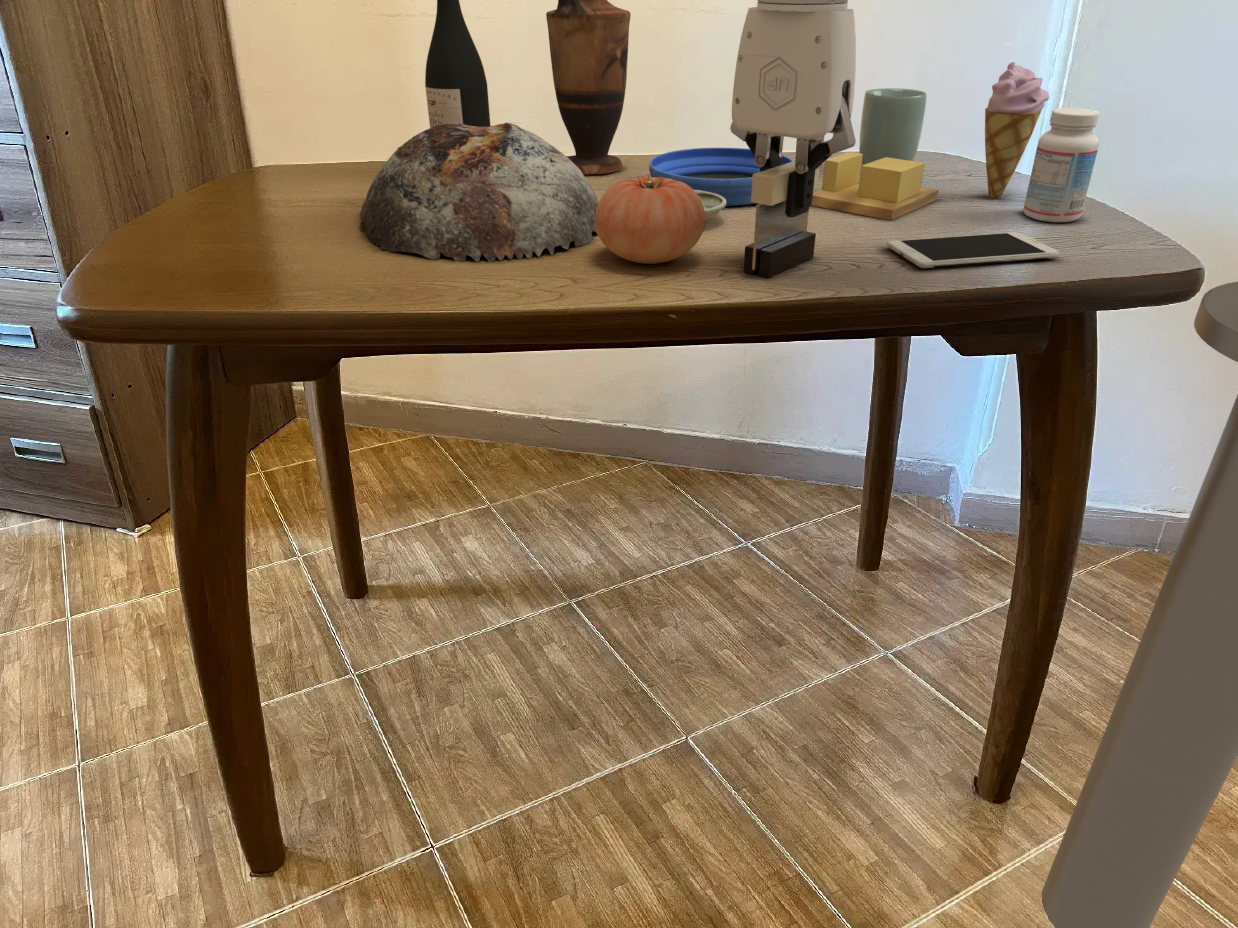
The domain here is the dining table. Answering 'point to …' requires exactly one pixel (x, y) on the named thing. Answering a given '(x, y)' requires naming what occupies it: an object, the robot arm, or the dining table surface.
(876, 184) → the butter block
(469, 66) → the wine bottle
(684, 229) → the tomato
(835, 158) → the butter slice
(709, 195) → the saucer
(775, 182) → the knife
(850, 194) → the board
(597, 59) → the vase
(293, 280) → the dining table surface
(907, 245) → the smartphone
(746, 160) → the bowl
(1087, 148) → the pill bottle
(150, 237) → the dining table surface
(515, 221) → the bread
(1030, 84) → the ice cream cone
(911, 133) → the cup
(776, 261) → the knife holder
